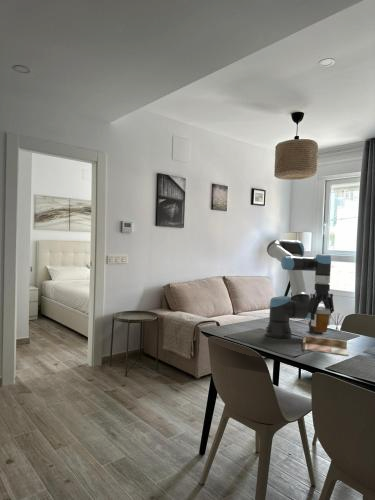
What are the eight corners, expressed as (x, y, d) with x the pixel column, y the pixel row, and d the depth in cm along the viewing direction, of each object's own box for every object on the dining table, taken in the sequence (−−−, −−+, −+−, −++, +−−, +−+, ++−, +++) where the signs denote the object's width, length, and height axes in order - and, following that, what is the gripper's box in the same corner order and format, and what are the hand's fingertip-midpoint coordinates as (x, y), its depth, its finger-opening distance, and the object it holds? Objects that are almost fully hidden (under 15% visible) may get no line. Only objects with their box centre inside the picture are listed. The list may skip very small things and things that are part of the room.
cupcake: (327, 333, 226) (327, 317, 226) (315, 334, 222) (315, 318, 222) (316, 329, 235) (317, 314, 235) (304, 330, 231) (305, 315, 231)
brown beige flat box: (302, 349, 186) (302, 342, 186) (303, 342, 200) (304, 335, 200) (348, 355, 178) (348, 348, 178) (346, 348, 192) (346, 340, 192)
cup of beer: (329, 330, 192) (330, 308, 192) (330, 334, 183) (331, 310, 183) (310, 328, 195) (311, 306, 195) (310, 331, 186) (311, 309, 186)
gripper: (311, 284, 181) (309, 328, 181) (342, 284, 190) (340, 325, 190) (301, 282, 188) (299, 325, 188) (331, 282, 197) (330, 322, 197)
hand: (320, 325), depth 189 cm, fingers closed on cup of beer, 9 cm apart
